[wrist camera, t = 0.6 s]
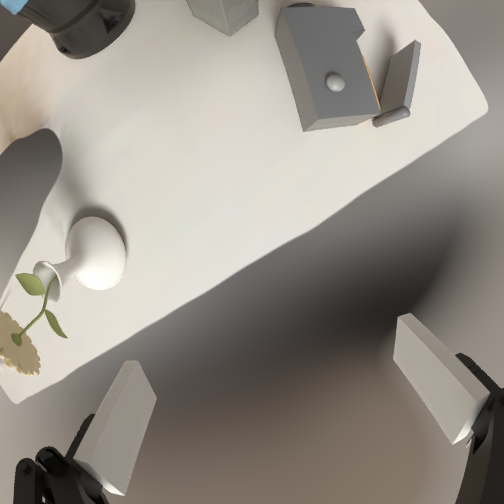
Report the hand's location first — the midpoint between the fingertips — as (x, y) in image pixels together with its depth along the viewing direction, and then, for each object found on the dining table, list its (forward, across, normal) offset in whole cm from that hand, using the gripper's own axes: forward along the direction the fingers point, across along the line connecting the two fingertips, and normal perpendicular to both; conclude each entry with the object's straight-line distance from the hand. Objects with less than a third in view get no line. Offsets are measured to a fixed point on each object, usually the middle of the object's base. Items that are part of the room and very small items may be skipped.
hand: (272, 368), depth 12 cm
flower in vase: (+27, -24, +2) cm, 36 cm away
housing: (+27, +15, +23) cm, 38 cm away
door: (+26, +24, +20) cm, 41 cm away
